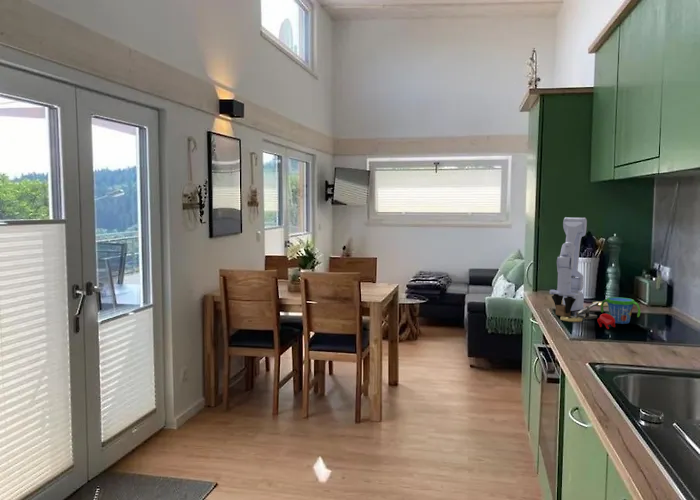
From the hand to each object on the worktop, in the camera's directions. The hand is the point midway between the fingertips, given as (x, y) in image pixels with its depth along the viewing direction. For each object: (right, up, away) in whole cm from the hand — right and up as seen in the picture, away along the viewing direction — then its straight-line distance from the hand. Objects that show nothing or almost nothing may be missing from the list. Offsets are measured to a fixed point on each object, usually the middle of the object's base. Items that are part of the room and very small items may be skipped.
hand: (563, 312), depth 254 cm
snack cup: (+19, -3, -15) cm, 24 cm away
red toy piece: (+8, -4, -25) cm, 27 cm away
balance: (+9, -2, -5) cm, 10 cm away
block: (0, -1, 0) cm, 1 cm away
